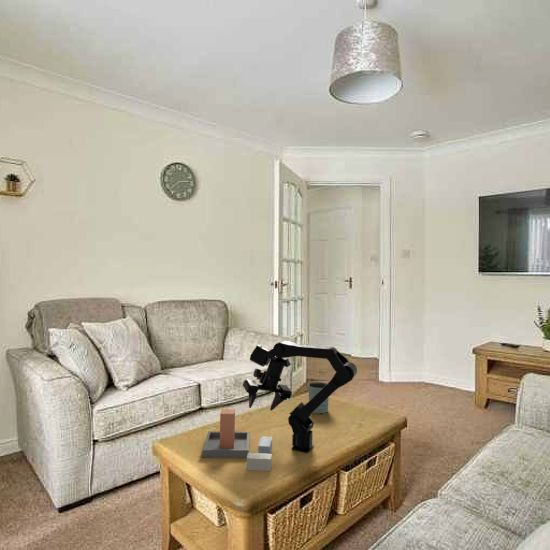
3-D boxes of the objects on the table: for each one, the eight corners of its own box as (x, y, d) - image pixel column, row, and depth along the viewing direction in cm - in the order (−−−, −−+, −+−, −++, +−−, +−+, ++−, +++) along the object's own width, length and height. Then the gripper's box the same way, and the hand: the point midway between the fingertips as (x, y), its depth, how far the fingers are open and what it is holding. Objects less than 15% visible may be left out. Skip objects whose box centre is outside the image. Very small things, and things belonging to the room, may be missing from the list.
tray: (249, 438, 156) (249, 431, 156) (248, 457, 140) (248, 450, 140) (208, 438, 155) (208, 431, 155) (202, 457, 139) (202, 450, 139)
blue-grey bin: (323, 416, 181) (323, 389, 181) (303, 411, 186) (303, 385, 186) (332, 409, 189) (333, 384, 189) (313, 405, 195) (314, 380, 195)
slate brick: (261, 447, 149) (261, 436, 149) (272, 447, 148) (272, 437, 148) (258, 457, 141) (258, 445, 141) (269, 458, 140) (269, 446, 140)
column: (234, 442, 150) (235, 408, 150) (233, 448, 145) (234, 413, 145) (221, 442, 150) (221, 408, 150) (219, 448, 145) (220, 413, 145)
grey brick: (271, 465, 135) (271, 453, 135) (271, 471, 131) (271, 459, 131) (247, 464, 136) (248, 452, 135) (246, 470, 132) (246, 458, 131)
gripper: (286, 366, 164) (274, 400, 166) (245, 358, 156) (232, 394, 158) (298, 379, 154) (284, 415, 156) (254, 372, 146) (240, 410, 148)
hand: (260, 408), depth 155 cm, fingers open, 9 cm apart
